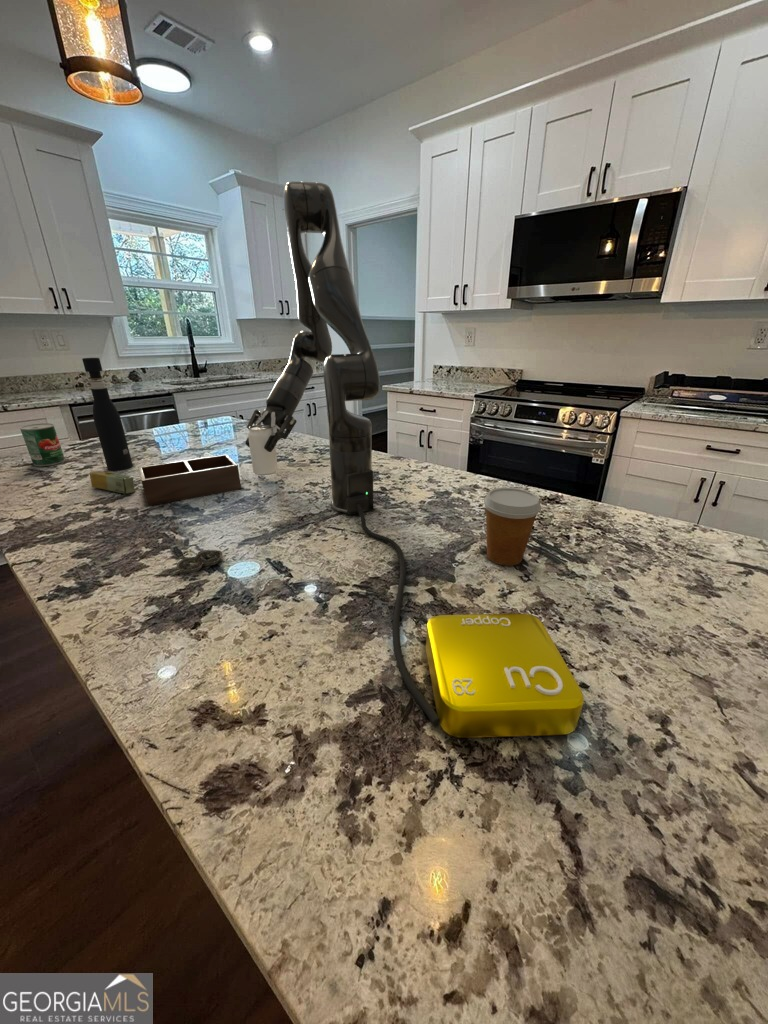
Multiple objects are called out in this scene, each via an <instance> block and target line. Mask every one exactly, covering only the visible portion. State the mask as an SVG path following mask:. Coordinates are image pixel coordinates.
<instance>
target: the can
mask: <svg viewBox="0 0 768 1024" xmlns="http://www.w3.org/2000/svg"><path fill="white" fill-rule="evenodd" d="M270 435H271V436H272V428H271V426H269V425H264V424H262V425H254V424H253V425H252V426H251V427H249V429H248V432H247V438H249V446H250V447H249V453H250V457H251V458H250V459H251V465H252V471H253V473H254V474H255V475H258V476H269V475H273V474H276V473H277V472H278V471H279V467H278V466H279V465H278V458H277V457H278V455H277V447H276V446H277V445H275V447H274V449H273V450H272V451H271V452H268V451H267V450H266V449H264V446H265V444H266V442H267V441H268V439H269V437H270Z"/></svg>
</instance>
